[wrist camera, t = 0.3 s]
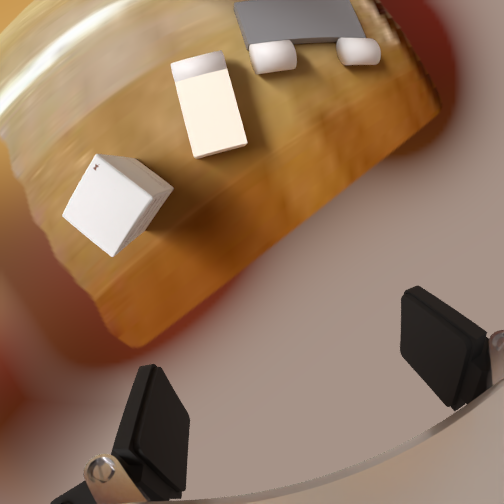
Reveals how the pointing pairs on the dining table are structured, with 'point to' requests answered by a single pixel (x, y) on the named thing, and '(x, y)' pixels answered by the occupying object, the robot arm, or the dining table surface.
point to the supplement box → (116, 201)
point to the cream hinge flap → (208, 104)
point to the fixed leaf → (301, 32)
